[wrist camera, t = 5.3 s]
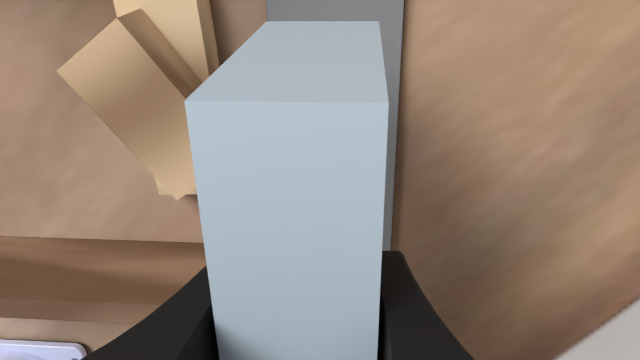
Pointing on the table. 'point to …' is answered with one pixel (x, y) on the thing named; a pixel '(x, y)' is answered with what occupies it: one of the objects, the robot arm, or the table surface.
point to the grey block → (386, 7)
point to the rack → (92, 277)
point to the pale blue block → (294, 190)
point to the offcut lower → (181, 35)
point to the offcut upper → (140, 95)
